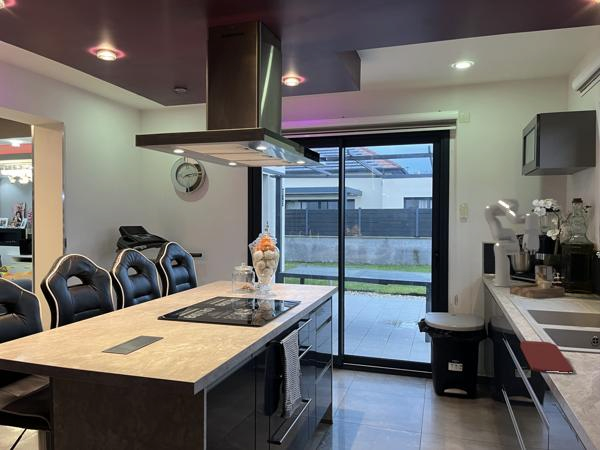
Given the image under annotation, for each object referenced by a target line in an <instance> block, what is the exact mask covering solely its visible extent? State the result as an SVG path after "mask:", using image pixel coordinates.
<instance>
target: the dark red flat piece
mask: <svg viewBox="0 0 600 450" xmlns="http://www.w3.org/2000/svg"><path fill="white" fill-rule="evenodd" d="M520 348H521V351H522V353H523V355H524V357H525V359H526V361H527V362H528V365H529V367H530V369H531V370H532V371H534V372H538V373H546V371H559V372H573V373H574V369H573V368H572V366H571V364H570V363H569V362H568V360H567V359H566V357H565V356H564V354H563V353H562V351H561V350H560V348H559V347H558V345H557V344H554V343H552V342H551V341H550V342H549V341H533V340H521V342H520Z"/></svg>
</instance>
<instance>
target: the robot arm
mask: <svg viewBox="0 0 600 450" xmlns="http://www.w3.org/2000/svg"><path fill="white" fill-rule="evenodd" d="M519 207H520V203H519V200H518V199H516V198H501V199H499V200H497V202H496V204H489V205H486V207H485V208H484V218H485V221H486V223H487V225H488V226H489V230H490V233H491V236H492V240H493V241H495V243H494V244H493V253H494V257H495V258H494V261H495V264H494V265H495V267H494V268H495V269H494V271H495V272H494V273H495V277H494V278H493V279H492V282H493V283H492V285H493V286H496V287H501V288H502V287H504V288H505V287H509V288H510V286H513V284H512V283H510V282H511V278H510V276H511V275H510V274H511V273H510V271H511V270H510V269H511V267H510V265H511V263H510V258H509V257H508V256H513V255H517V254H519V253H520V251H521V246H520V242H519V240H518V237H517V234H516V231H515V230H513V228H508V227H503V224H502V222H501V220H500V218H498V217H505V218H506V220H507V221H508V222H510V223H511V224H513V225H524V235H523V237H522V250H523V252H525V253H527V258H528V259H527V261H530V262H534V261H535V255H536V252H539V249H540V237H539V214H538V213H534V212H519Z"/></svg>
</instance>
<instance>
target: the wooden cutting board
mask: <svg viewBox="0 0 600 450" xmlns="http://www.w3.org/2000/svg"><path fill="white" fill-rule="evenodd" d="M509 294H510V295H514V296H519V297H523V298H527V297H528V298H529V299H532V298H533V299H540V298H541V299H543V298H552V297H554V296H555V297H563V296H564V297H565V296H566V295H565V287H563V286H557V285H553V286H550V288H539V287H538V284H535V283H533V284H521V285H519V284H518V285H512V286H510V287H509Z"/></svg>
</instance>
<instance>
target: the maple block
mask: <svg viewBox="0 0 600 450" xmlns="http://www.w3.org/2000/svg"><path fill="white" fill-rule="evenodd" d="M550 286H551V282H549V281H538V287H539V288H550Z"/></svg>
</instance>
